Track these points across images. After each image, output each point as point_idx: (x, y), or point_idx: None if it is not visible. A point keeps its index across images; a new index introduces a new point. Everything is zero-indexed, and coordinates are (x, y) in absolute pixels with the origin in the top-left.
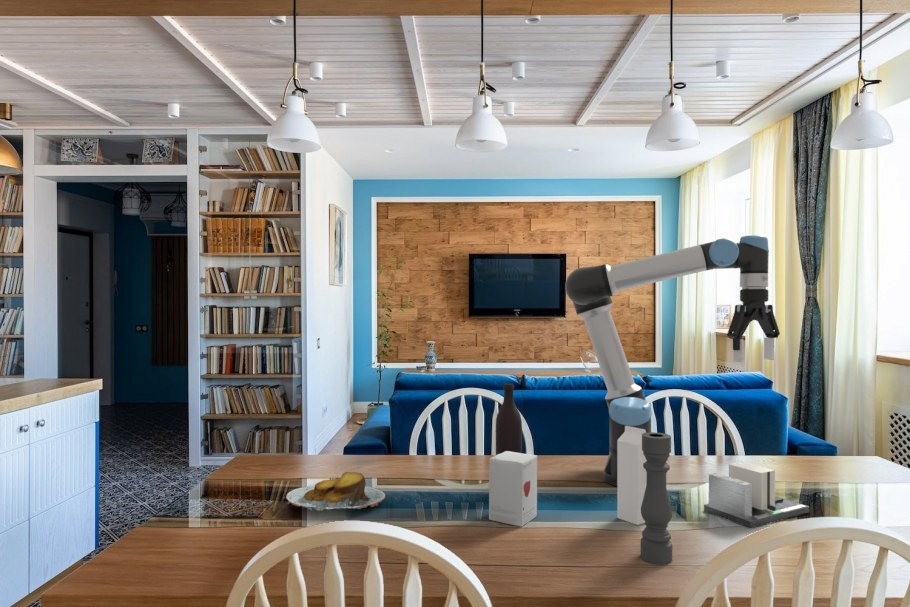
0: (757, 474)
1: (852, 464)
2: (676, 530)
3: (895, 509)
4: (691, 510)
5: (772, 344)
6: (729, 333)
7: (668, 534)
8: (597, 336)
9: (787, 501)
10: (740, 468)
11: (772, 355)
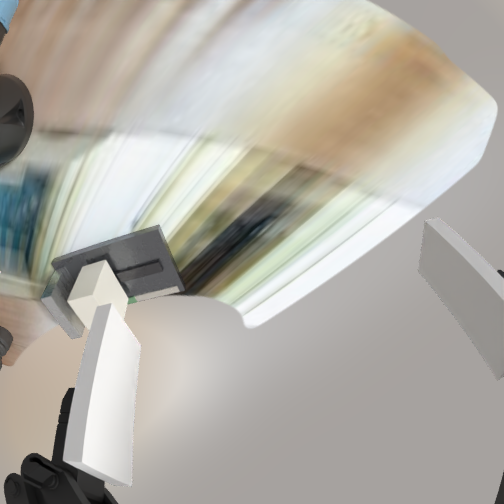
0: None
1: (454, 117)
2: (18, 298)
3: (304, 289)
4: (41, 254)
5: (475, 342)
6: (19, 501)
7: (4, 354)
8: None
9: (168, 271)
10: (78, 315)
11: (434, 288)
